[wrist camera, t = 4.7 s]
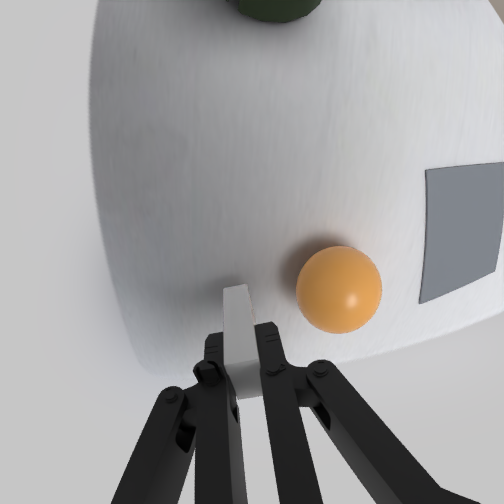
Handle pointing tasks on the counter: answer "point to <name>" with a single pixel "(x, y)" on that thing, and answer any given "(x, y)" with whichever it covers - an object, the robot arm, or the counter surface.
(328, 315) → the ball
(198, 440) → the robot arm
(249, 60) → the counter surface
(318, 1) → the character mug
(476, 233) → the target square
